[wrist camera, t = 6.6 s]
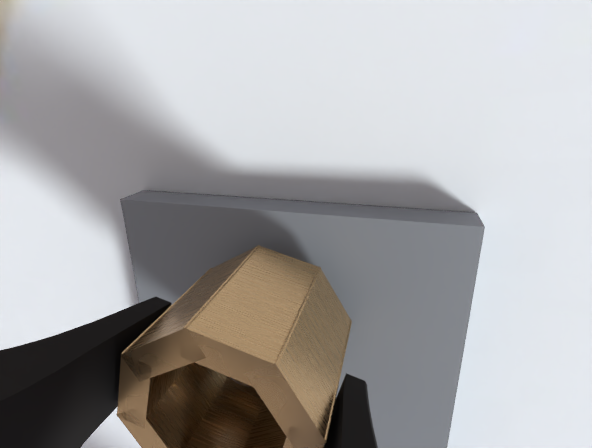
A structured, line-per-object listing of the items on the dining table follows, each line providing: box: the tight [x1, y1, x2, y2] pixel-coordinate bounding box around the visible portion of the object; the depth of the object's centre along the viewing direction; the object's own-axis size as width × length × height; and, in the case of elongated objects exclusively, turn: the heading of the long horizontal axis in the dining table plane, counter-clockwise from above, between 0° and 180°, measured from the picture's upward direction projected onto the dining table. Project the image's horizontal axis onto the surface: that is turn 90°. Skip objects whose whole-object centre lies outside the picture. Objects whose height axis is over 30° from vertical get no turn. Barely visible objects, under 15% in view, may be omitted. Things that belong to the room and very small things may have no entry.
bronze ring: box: [116, 245, 352, 448], centre depth 12 cm, size 6×6×5 cm
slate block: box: [120, 190, 485, 448], centre depth 18 cm, size 20×14×2 cm
